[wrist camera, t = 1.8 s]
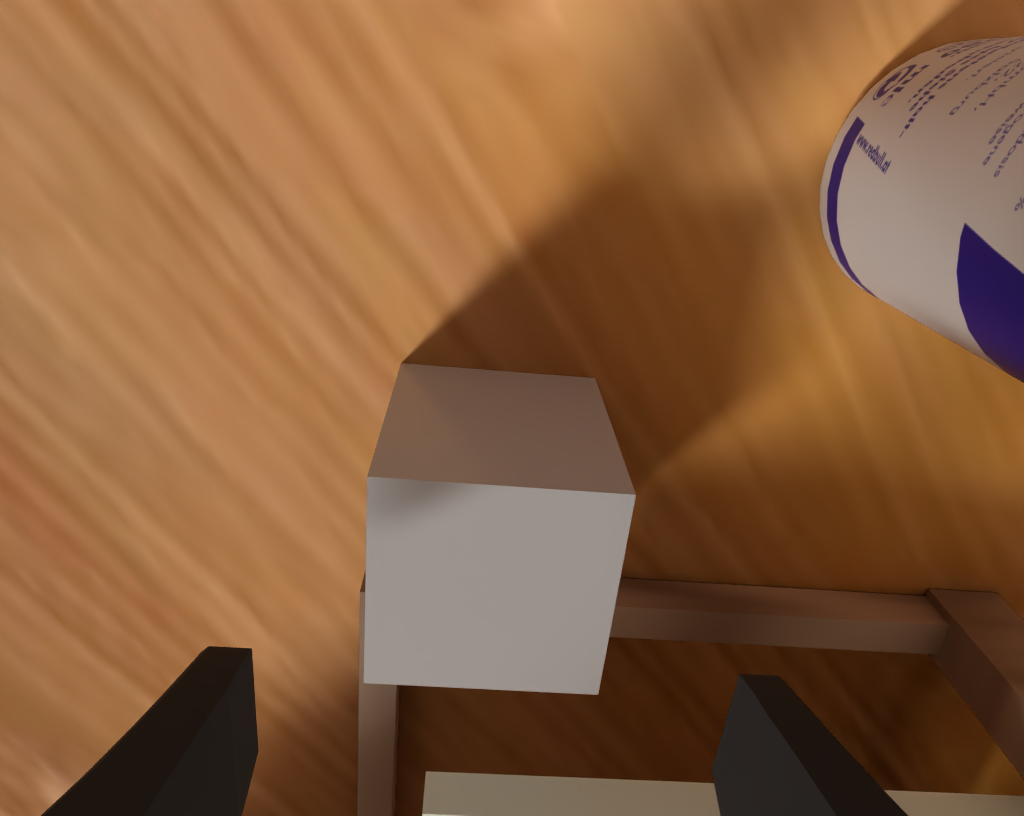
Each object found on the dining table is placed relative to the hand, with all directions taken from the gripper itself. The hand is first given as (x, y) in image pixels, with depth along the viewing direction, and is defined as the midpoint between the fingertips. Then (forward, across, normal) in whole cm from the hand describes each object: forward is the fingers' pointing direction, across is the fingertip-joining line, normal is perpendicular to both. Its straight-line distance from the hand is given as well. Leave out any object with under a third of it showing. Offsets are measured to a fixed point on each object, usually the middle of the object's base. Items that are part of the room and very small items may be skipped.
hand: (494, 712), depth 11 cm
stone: (+8, 0, 0) cm, 8 cm away
